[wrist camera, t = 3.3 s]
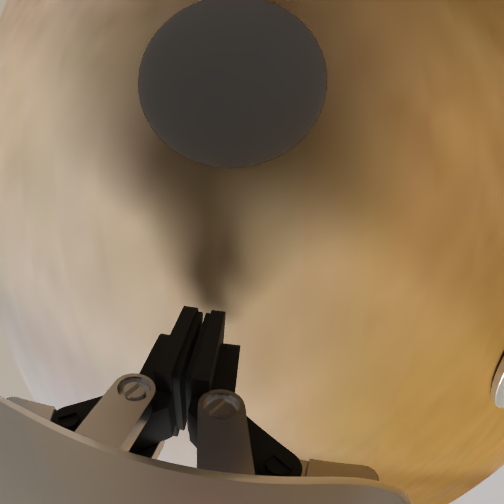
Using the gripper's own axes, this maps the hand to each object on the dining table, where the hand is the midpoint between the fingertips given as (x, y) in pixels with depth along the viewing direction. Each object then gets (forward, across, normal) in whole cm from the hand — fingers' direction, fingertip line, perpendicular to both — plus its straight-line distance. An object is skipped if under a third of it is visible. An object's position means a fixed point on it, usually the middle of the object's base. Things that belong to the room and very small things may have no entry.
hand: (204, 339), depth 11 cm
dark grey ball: (-1, 0, -10) cm, 10 cm away
